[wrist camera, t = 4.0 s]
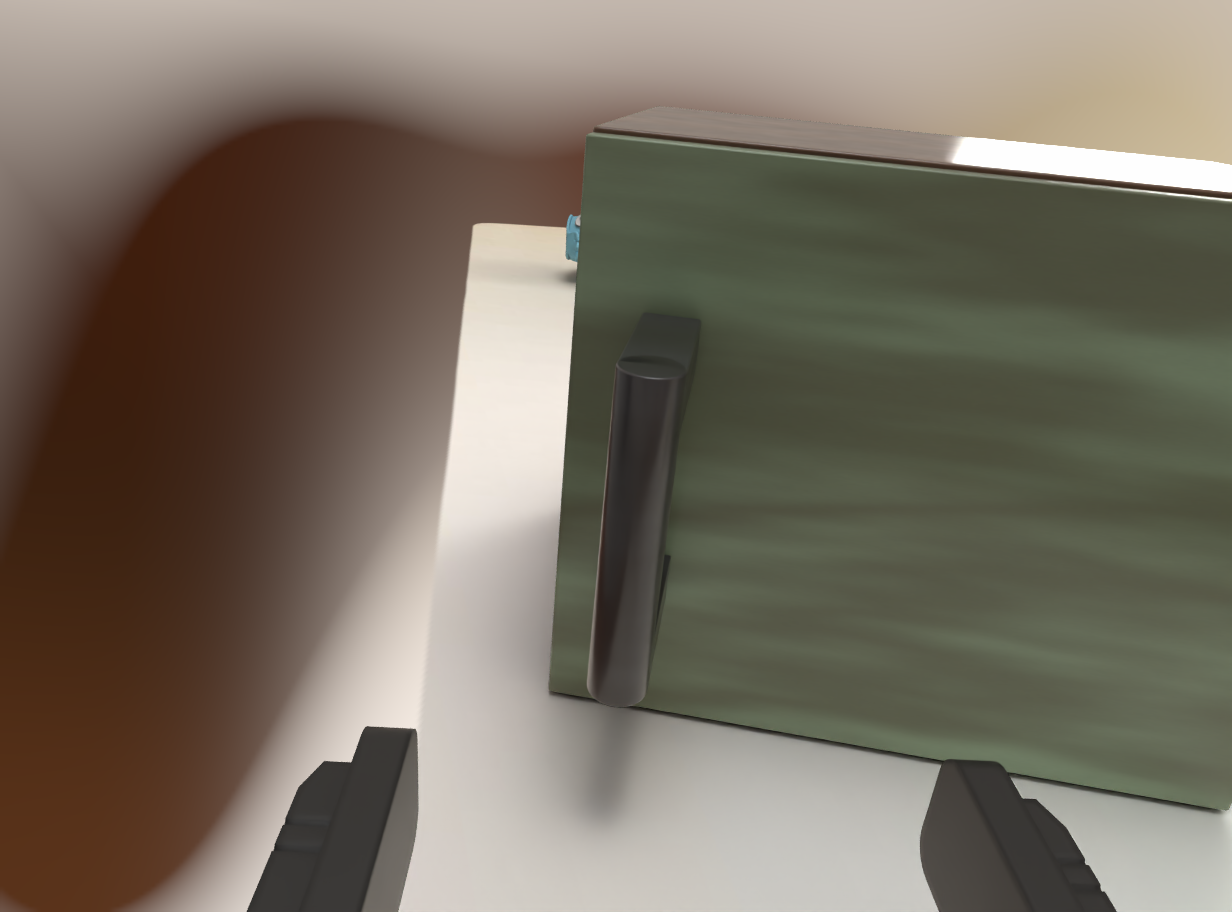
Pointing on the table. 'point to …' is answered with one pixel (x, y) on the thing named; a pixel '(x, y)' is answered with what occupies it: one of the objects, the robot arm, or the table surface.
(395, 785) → the robot arm
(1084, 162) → the cupboard
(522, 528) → the table surface
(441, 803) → the table surface
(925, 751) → the cupboard door
